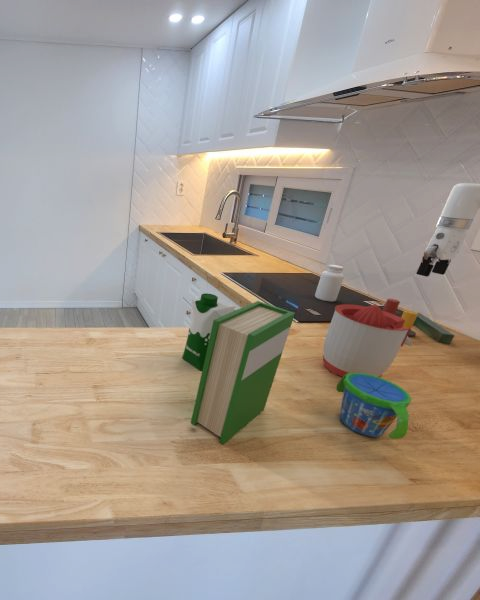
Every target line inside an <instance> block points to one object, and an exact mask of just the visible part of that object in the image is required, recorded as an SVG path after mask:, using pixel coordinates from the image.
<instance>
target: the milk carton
mask: <svg viewBox="0 0 480 600" xmlns="http://www.w3.org/2000/svg"><path fill="white" fill-rule="evenodd" d="M235 307H236V305H234V304H232V303H229V302H227V301H225V300H223V299H220V298H219V297H218V296H217V295H216V294H212V293H205V292H204V293H202V294H201V295H200V297H198V298H194V299H191V317H190V322H189V328H188V333H187V338H186V341H185V342H186V343H185V345H184V349H183V352H182V353H183V354H182V360H184V361H186V362H187V363H189V364H190V365H191V366H192V367H194V368H195V369H197V370H198V371H200V372H202V370H203V366H204V361H205V357H206V352H207V348H208V343H209V339H210V334H211V330H212V325H213V321H214V320H215V319H217V318H219V317H222V316H224V315H226V314H229V313H231V312H233V311H235Z"/></svg>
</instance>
